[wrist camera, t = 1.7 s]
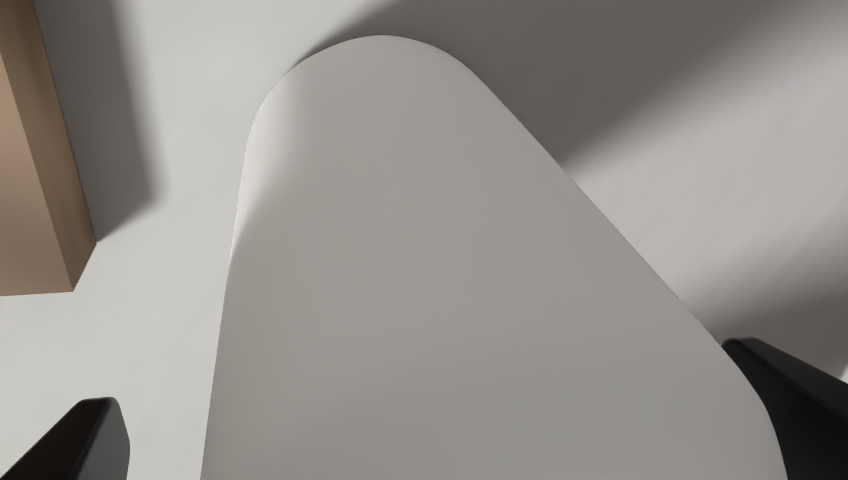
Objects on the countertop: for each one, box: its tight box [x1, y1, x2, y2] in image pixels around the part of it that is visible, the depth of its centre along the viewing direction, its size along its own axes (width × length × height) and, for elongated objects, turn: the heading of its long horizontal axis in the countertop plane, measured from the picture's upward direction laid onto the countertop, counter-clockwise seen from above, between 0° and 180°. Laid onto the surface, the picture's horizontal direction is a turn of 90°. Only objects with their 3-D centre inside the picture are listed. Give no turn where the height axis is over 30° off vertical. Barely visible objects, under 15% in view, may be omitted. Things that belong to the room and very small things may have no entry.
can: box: [200, 35, 788, 480], centre depth 10 cm, size 6×6×12 cm
